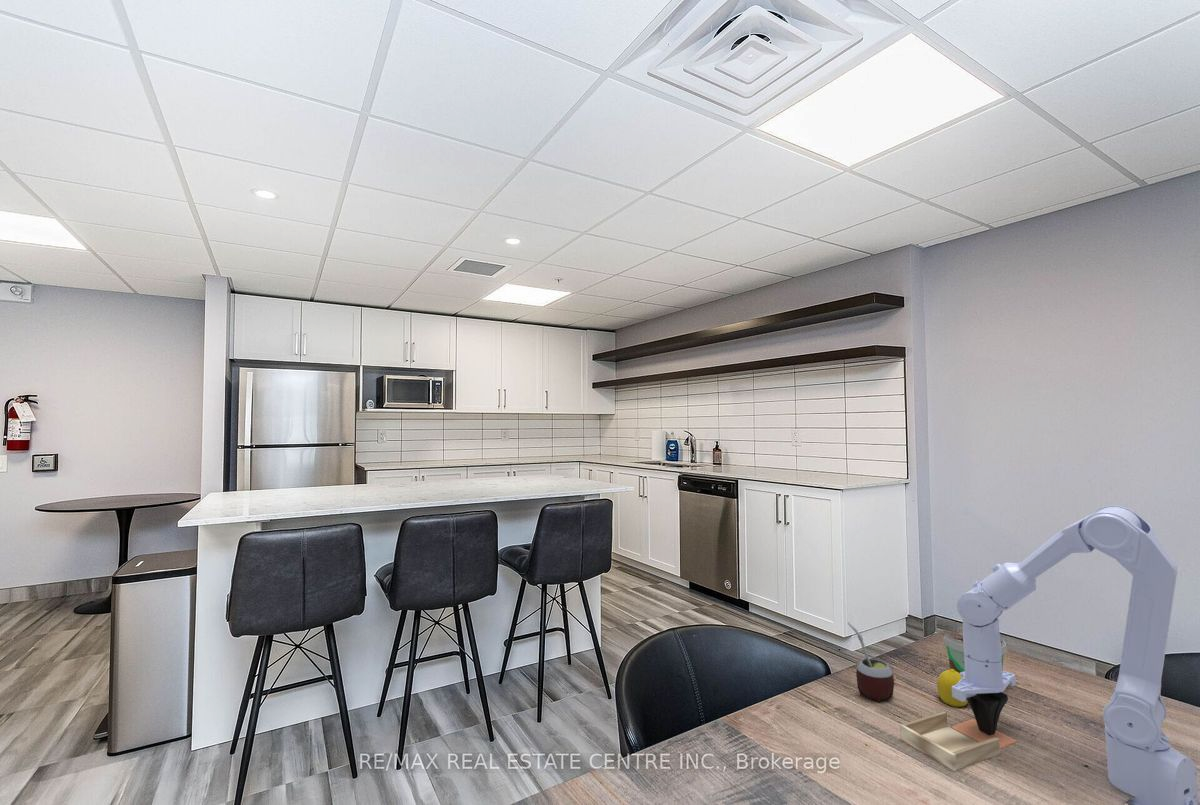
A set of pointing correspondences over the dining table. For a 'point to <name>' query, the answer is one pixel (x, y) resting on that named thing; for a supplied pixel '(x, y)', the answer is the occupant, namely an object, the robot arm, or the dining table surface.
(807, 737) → the dining table surface
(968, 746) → the cream shallow tray
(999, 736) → the panel
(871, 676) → the mate gourd
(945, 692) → the lemon
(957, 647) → the food container
